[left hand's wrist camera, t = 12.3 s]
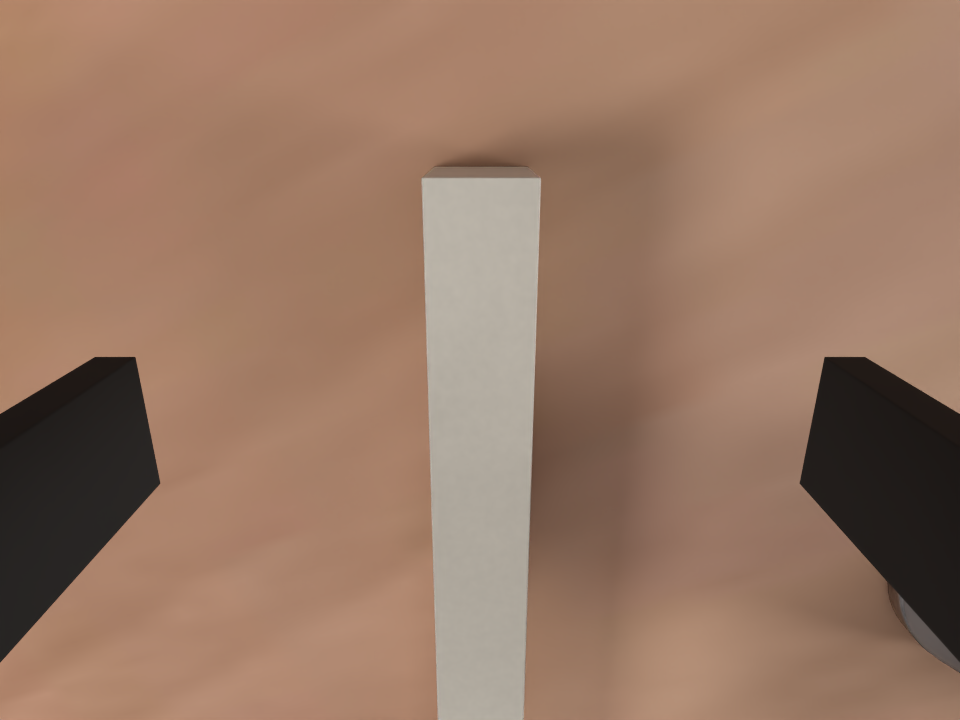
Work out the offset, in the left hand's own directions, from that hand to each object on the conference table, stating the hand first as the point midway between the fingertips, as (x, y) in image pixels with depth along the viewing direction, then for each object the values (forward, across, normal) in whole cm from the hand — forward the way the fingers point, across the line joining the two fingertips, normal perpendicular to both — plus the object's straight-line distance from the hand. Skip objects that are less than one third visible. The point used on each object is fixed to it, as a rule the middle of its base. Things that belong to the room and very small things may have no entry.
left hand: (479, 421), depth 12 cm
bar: (+24, 0, -28) cm, 37 cm away
